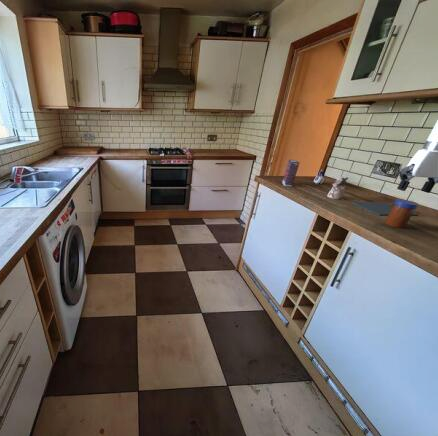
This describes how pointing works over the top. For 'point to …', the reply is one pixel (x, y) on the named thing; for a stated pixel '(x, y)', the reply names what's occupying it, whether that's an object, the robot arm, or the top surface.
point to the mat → (377, 207)
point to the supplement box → (290, 172)
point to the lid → (406, 203)
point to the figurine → (338, 189)
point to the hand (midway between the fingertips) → (412, 190)
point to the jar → (399, 216)
